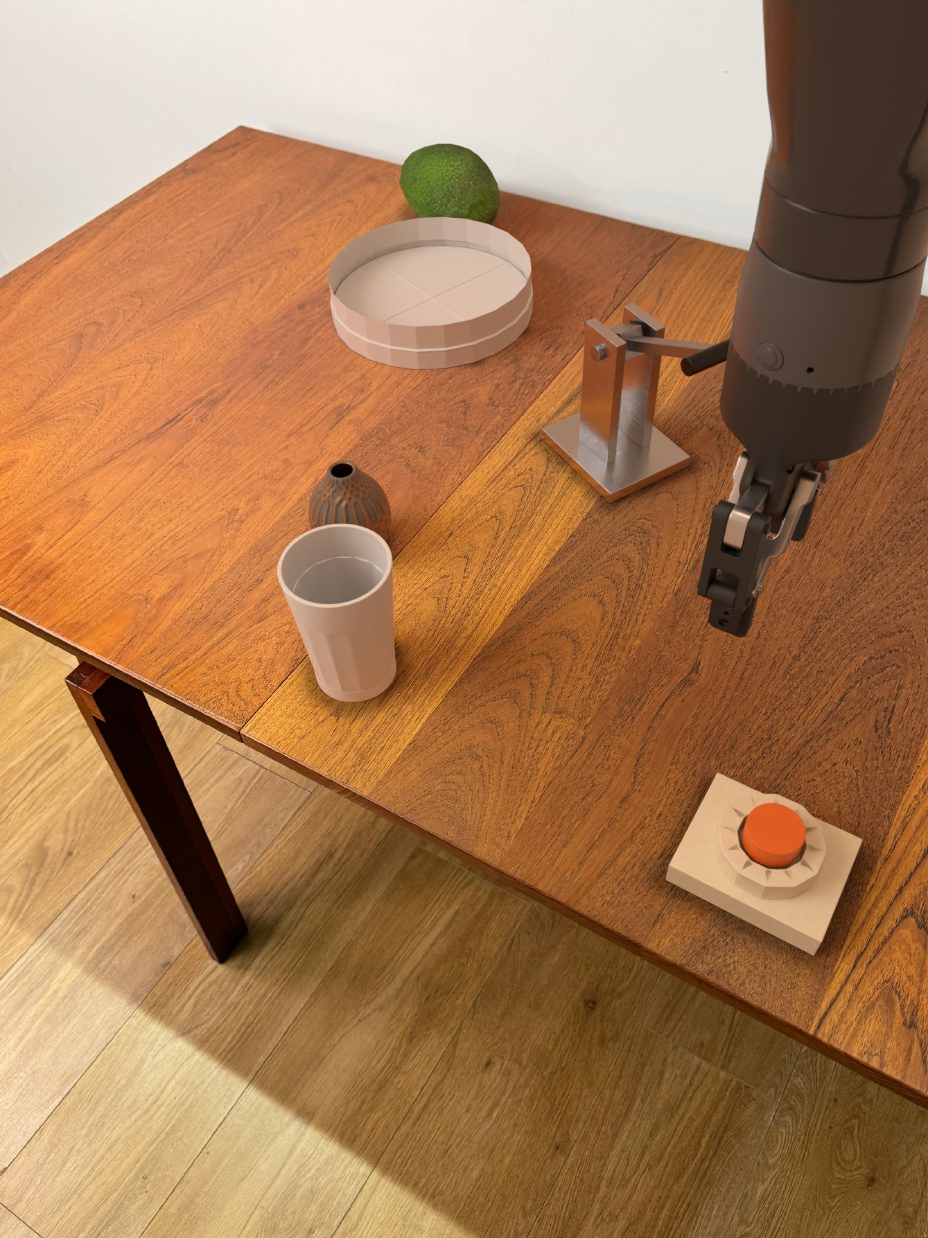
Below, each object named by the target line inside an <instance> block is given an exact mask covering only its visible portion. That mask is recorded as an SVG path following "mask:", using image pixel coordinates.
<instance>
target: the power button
mask: <svg viewBox="0 0 928 1238" xmlns="http://www.w3.org/2000/svg"><path fill="white" fill-rule="evenodd" d="M805 838H806V829H805V826H804V823H803V821H802V819H801V818H800V817H799V815H798V814H797V813H796V812H794V811H793V810H792V809H790V808H788V807H787V806H784V805H781V804H777V803H765V804H761V805H759V806H757V807H755V808H754V809H753V810H752V811H751V812H750V813H749V815H748V817H747V820H746V823H745V826H744V829H743V832H742V843H743V846H744V848H745V850H746V852H747V853H748V854H749V855H750V857H751V858H753V859H754V860H755V861H757V862H758V863H760V864H762V865H765V866H768V867H783V866H786V865H788V864H790V863H792V862H793V861H794V860H795V859H796V858H797V856H798V854H799V852H800V850H801V848H802V846H803V844H804V841H805Z"/></svg>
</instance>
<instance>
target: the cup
mask: <svg viewBox="0 0 928 1238" xmlns="http://www.w3.org/2000/svg"><path fill="white" fill-rule="evenodd" d="M276 574H277V580H278V582H279V585H280V588H281V590H282V592H283V595H284V597H285V599H286V603H287V604H288V608H289V610H290V612H291V614H292V616H293V619H294V622H295V624H296V626H297V627H296V628H297V630H298V632H299V635H300V637H301V640H302V642H303V645H304V647H305V651H306V652H307V655H308V658H309V660H310V663H311V666H312V668H313V671H314V674H315V679H316V682H317V684H318V687H319V688H320V689H321V690H322V692H323V693H324V694H326V695H327V696H329V697H330V698H332V699H333V700H336V701H338V702H339V701H340V702H344V703H360V702H361V703H362V702H365V701H368V700H371V699H374V698H376V697H377V696H379V695H381V694H382V693H383V692H385V691H386V690H387V689H388V688H389V687H390V686H391V685H392V683H393V681H394V679H395V677H396V674H397V659H396V651H395V647H396V646H395V621H394V619H395V618H394V588H393V587H394V581H393V580H394V578H393V576H394V574H393V555H392V551H391V549H390V546H389V545H388V543H387V541H386V542H385V540H384V539H383V538H382V537H380V536H379V535H378V534H377V533H375V532H373V531H372V530H369V529H367V528H365V527H361V526H358V525H352V524H331V525H325V526H321V527H318V528H315V529H312V530H311V529H309V530H307V531H305V532H304V533H302V534H300V535H298V536H297V537H296V538H295V539H293V540H292V541H291V542H290V543H289V544H288V545H287V546H286V547H285V549H284V550H283V551H282V553H281V554H280V557H279V559H278V562H277V567H276Z"/></svg>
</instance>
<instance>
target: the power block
mask: <svg viewBox="0 0 928 1238" xmlns="http://www.w3.org/2000/svg"><path fill="white" fill-rule="evenodd" d="M765 803H777V804H781V805H784V806H787V807H788V808H790V809H792V810H793V811H794V812H796V813H797V814H798V815H799V817H800V818H801V819H802V821H803V823H804V826H805V829H806V838H805V841H804V844H803V846H802V848H801V850H800V852H799V854H798V856H797V858H796V859H795V860H794V861H793V862H792V863H790V864H788V865H786V866H783V867H768V866H765V865H762V864H760V863H758V862H757V861H755V860H754V859H753V858H751V857H750V855H749V854H748V853H747V852H746V850H745V848H744V846H743V843H742V832H743V829H744V826H745V823H746V820H747V817H748V815H749V813H750V812H751V811H752V810H753V809H754V808H755V807H757V806H759V805H761V804H765ZM862 843H863V838H860V837H859V836H857V835H854V834H852V833H850V832H849V831H845V830H843V829H841V828H839V827H837V826H835V825H833V824H830V823H828V822H826V821H824V820H823V819H820V818H817V817H815V816H813V815H812V814H811V813H810V812H809V811H808V810H807V808H805V806H804V805H802V804H800V803H798V802H795V801H793V800H791V799H789V798H787V797H784V796H783V795H781V794H777V793H763V792H761V791H760V790H759V791H758V789H754V788H752V787H750V786H748V785H746V784H743V783H741V782H739V781H737V780H735V779H733V778H731V777H728V776H727V775H724V774H722V773H720V772H717V773H715V776H714V778H713V780H712V782H711V784H710V786H709V787H708V790H707V791H706V794H705V795H704V797H703V799H702V801H701V803H700V805H699V807H698V809H697V811H696V813H695V814H694V817H693V818H692V820H691V822H690V824H689V825H688V828H687V830H686V831H685V833H684V835H683V838H682V839H681V841H680V843H679V845H678V846H677V848H676V851H675V853H674V854H673V856H672V858H671V860H670V862H669V864H668V868H667V872H666V876H665V880H666V881H667V882H669V883H671V884H673V885H675V886H676V887H678V888H680V889H682V890H684V891H687V892H688V893H690V894H692V895H694V896H696V897H698V898H700V899H702V900H704V901H706V902H707V903H710V904H712V905H714V907H715V906H716V907H718V908H719V909H722V910H723V911H725V912H727V913H729V914H731V915H733V916H735V917H737V918H739V919H740V920H743V921H745V922H747V923H749V924H751V925H753V926H755V927H756V928H759V929H760V930H762V931H764V932H766V933H768V934H770V935H772V936H774V937H776V938H778V939H780V940H782V941H784V942H786V943H787V944H789V945H791V946H794V947H795V948H797V949H799V950H801V951H803V952H805V953H807V954H809V955H812V956H815V955H816V953H817V952H818V950H819V948H820V947H821V945H822V943H823V940H824V938H825V936H826V933H827V931H828V928H829V926H830V923H831V921H832V918H833V915H834V914H835V910H836V908H837V906H838V904H839V901H840V899H841V896H842V893H843V891H844V888H845V885H846V883H847V881H848V878H849V876H850V873H851V871H852V869H853V865H854V863H855V861H856V858H857V856H858V853H859V850H860V849H861V846H862Z"/></svg>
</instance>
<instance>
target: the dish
mask: <svg viewBox="0 0 928 1238" xmlns="http://www.w3.org/2000/svg"><path fill="white" fill-rule="evenodd" d="M327 281H328V286H329V292H330V302H329V304H330V310H331V317H332V323H333V326H334V327H335V331H336V334H337V337H339V338H340V340H341V341H342V342H343V343H344V344H345V345H346V346H347V347H348V348H349V349H350V350H351V351H353V352H355V353H357V354H358V355H360V356H362V357H364V358H366V359H367V360H368V361H372V362H376V363H378V364H379V363H380V364H383V365H386V366H389V367H393V368H401V369H411V370H435V369H436V370H437V369H438V370H439V369H448V368H453V367H459V366H463V365H468V364H473V363H476V362H478V361H481V360H483V359H486V358H488V357H491V356H493V355H496V354H498V353H499V352H501V351H502V350H504V349H505V348H507V347H508V346H511V344H513V343H514V342H516V341H517V339H518V338H519V337H520V336H521V335H522V334H523V333H524V332H525V330H526V329H528V327H529V323H530V320H531V318H532V314H533V310H534V309H533V307H534V305H533V304H534V290H533V283H532V263H531V256H530V255H529V253H528V251H527V250H526V248H525V246H524V245H523V243H522V242H521V241H519V240H518V239H517V238H515V237H514V236H513V235H511V234H510V233H509V232H507V231H505V230H503V229H501V228H499V227H496V226H494V225H492V224H491V225H489V224H486V223H481V222H477V221H473V220H469V219H461V218H449V217H431V218H418V217H416V218H411V219H406V220H399V221H395V222H391V223H388V224H384V225H381V226H379V227H376V228H373V229H370V230H369V231H367V232H365V233H363V234H361V235H360V236H358V237H356V238H354V239H352V240H351V241H350V242H348V244H346V245H345V246H344V247H343V248H342V249H340V250H339V251H338V252H337V254H336V256H335V257H334V259H333V260H332V262H331V263H330V265H329V271H328V279H327Z"/></svg>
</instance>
